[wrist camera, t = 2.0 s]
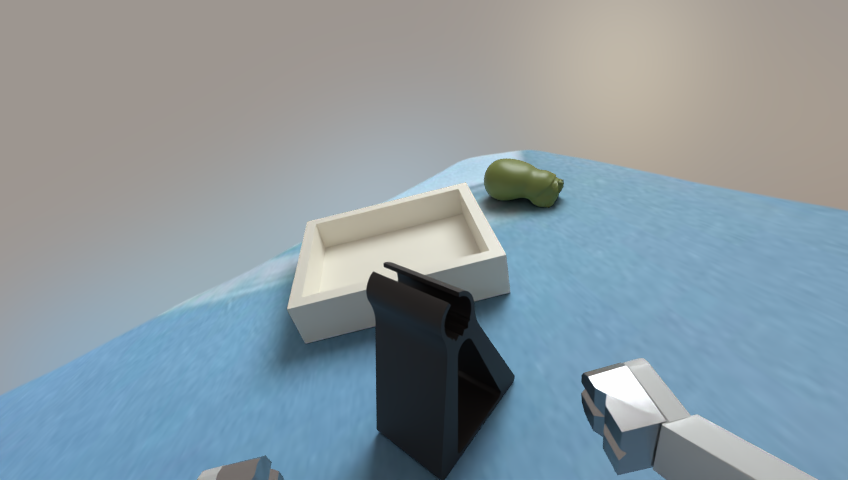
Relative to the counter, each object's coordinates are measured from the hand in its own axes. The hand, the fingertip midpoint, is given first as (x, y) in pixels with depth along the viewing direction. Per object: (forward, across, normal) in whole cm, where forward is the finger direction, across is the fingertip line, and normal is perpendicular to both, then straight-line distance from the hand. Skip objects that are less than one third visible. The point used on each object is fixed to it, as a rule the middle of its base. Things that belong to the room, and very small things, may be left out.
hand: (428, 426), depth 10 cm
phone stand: (+12, 0, +17) cm, 21 cm away
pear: (+39, -15, +17) cm, 45 cm away
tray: (+30, +2, +17) cm, 35 cm away
